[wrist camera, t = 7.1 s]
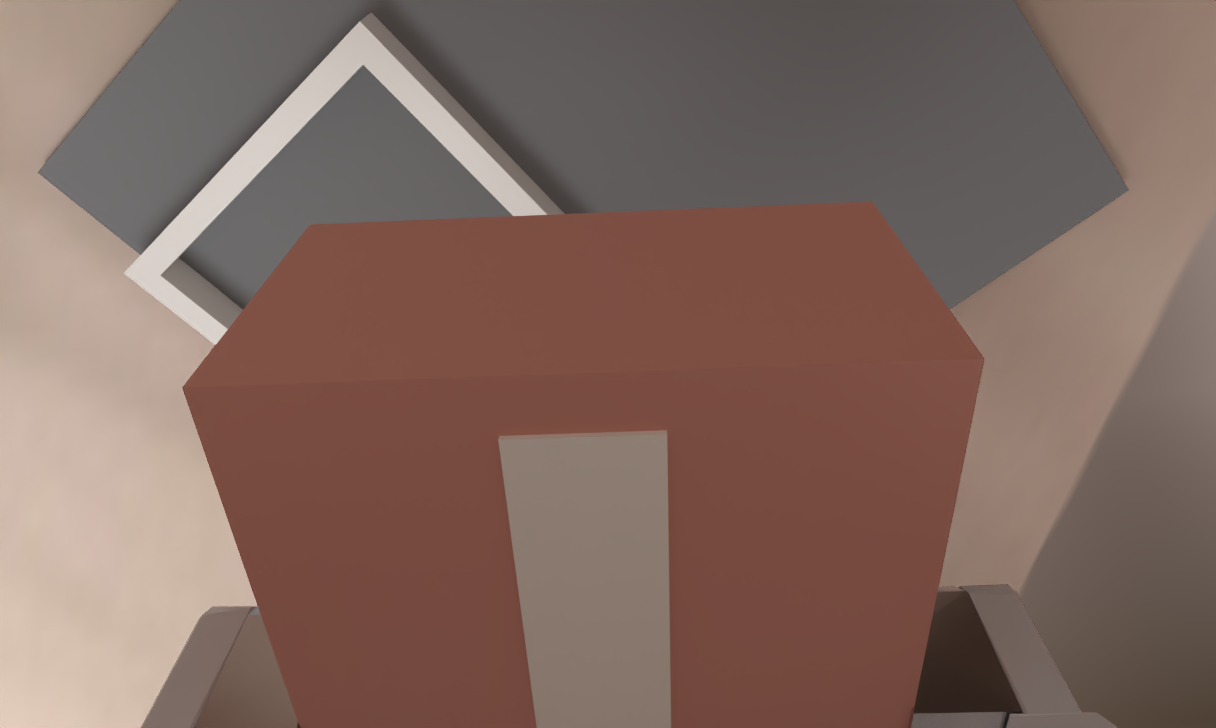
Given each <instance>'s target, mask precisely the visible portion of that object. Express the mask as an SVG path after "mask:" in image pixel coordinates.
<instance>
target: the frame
mask: <svg viewBox="0 0 1216 728" xmlns="http://www.w3.org/2000/svg"><path fill="white" fill-rule="evenodd" d="M363 65H364V66H365V67H366V68H367V69H368V70H369V71H370V72H371V73H372V74H373V75H374V76H375V77H376V78H377V79H378V80H379V81H380V82H381V83H382V84H383V85H384V86H385V87H386V88H387V89H388V90H389V91H390V92H391V93H392V94H393V95H394V96H395V97H396V98H397V99H398V100H399V101H400V102H401V103H402V104H403V105H404V106H405V107H406V108H407V109H408V110H409V111H410V112H411V113H412V114H413V115H414V116H415V117H416V118H417V119H418V120H419V121H420V122H421V123H422V124H423V125H424V126H425V127H426V128H427V129H428V130H429V131H430V132H431V133H432V135H433V136H434V137H435V138H436V139H437V140H438V141H439V142H440V143H441V144H442V145H443V146H444V147H445V148H446V149H447V150H448V151H449V152H450V153H451V154H452V155H453V156H454V157H455V158H456V159H457V160H458V161H459V162H460V163H461V164H462V165H463V166H464V167H465V168H466V169H467V170H468V171H469V172H470V173H471V174H472V175H473V176H474V177H475V178H476V179H477V180H478V181H479V182H480V183H481V184H482V185H483V186H484V187H485V188H486V189H487V190H488V191H489V192H490V193H491V194H492V195H493V196H494V197H495V198H496V199H497V200H498V201H499V202H500V203H501V204H502V205H503V206H504V207H505V208H506V209H507V210H508V211H509V212H510V213H511V214H512V215H513V216H530V215H555V214H564V213H563V212H562V210H561V209H560V208H559V207H558V206H557V205H556V204H555V203H554V202H553V201H552V200H551V199H550V198H549V197H548V196H547V195H546V194H545V193H544V192H543V191H542V190H541V189H540V188H539V186H538V185H537V184H536V183H535V182H534V181H533V180H532V179H531V178H530V177H529V176H528V175H527V174H526V173H525V172H524V171H523V170H522V169H521V168H520V167H519V166H518V165H517V164H516V162H515V161H514V160H513V159H512V158H511V157H510V156H509V155H508V154H507V153H506V152H505V151H504V150H503V149H502V148H501V147H500V146H499V145H498V144H497V143H496V142H495V141H494V140H493V138H492V137H491V136H490V135H489V134H488V133H487V132H486V131H485V130H484V129H483V128H482V127H481V126H480V125H479V124H478V123H477V122H476V121H475V120H474V119H473V118H472V117H471V116H470V114H469V113H468V112H467V111H466V110H465V109H464V108H463V107H462V106H461V105H460V104H459V103H458V102H457V101H456V100H455V99H454V98H453V97H452V96H451V95H450V94H449V93H448V92H447V90H446V89H445V88H444V87H443V86H442V85H441V84H440V83H439V82H438V81H437V80H436V79H435V78H434V77H433V76H432V75H431V74H430V73H429V72H428V71H427V70H426V69H425V68H424V66H423V65H422V64H421V63H420V62H419V61H418V60H417V59H416V58H415V57H414V56H413V55H412V54H411V53H410V52H409V51H408V50H407V49H406V48H405V47H404V46H403V45H402V44H401V42H400V41H399V40H398V39H397V38H396V37H395V36H394V35H393V34H392V33H391V32H390V31H389V30H388V29H387V28H386V27H385V26H384V25H383V24H382V23H381V22H380V21H379V20H378V18H377V17H376V16H375V15H374V14H373V13H372V12H371V13H370V14H369V15H367V16H366V17H365V18H363V19H362V20H361V21H359V22H358V24H357V25H356V26H355V27H354V28H353V29H352V30H351V31H350V32H349V33H348V34H347V35H346V36H345V37H344V39H343V40H342V41H341V42H340V43H339V44H338V45H337V46H336V47H335V48H334V49H333V50H332V51H331V52H330V53H329V55H328V56H327V57H326V58H325V59H324V60H323V61H322V62H321V63H320V64H319V65H318V66H317V67H316V68H315V69H314V71H313V72H312V73H311V74H310V75H309V76H308V77H307V78H306V79H305V80H304V81H303V82H302V83H301V84H300V86H299V87H298V88H297V89H296V90H295V91H294V92H293V93H292V94H291V95H290V96H289V97H288V98H287V99H286V100H285V102H284V103H283V104H282V105H281V106H280V107H279V108H278V109H277V110H276V111H275V112H274V113H273V114H272V115H271V117H270V118H269V119H268V120H267V121H266V122H265V123H264V124H263V125H262V126H261V127H260V128H259V129H258V130H257V131H256V133H255V134H254V135H253V136H252V137H251V138H250V139H249V140H248V141H247V142H246V143H245V144H244V145H243V146H242V147H241V149H240V150H239V151H238V152H237V153H236V154H235V155H234V156H233V157H232V158H231V159H230V160H229V161H228V162H227V164H226V165H225V166H224V167H223V168H222V169H221V170H220V171H219V172H218V173H217V174H216V175H215V176H214V177H213V178H212V180H211V181H210V182H209V183H208V184H207V185H206V186H205V187H204V188H203V189H202V190H201V191H200V192H199V193H198V194H197V196H196V197H195V198H194V199H193V200H192V201H191V202H190V203H189V204H188V205H187V206H186V207H185V208H184V209H183V211H182V212H181V213H180V214H179V215H178V216H177V217H176V218H175V219H174V220H173V221H172V222H171V223H170V224H169V225H168V227H167V228H166V229H165V230H164V231H163V232H162V233H161V234H160V235H159V236H158V237H157V238H156V239H155V240H154V242H153V243H152V244H151V245H150V246H149V247H148V248H147V249H146V250H145V251H144V252H143V253H142V254H141V255H140V256H139V258H138V259H137V260H136V261H135V262H134V263H133V264H132V265H131V266H130V267H129V268H128V269H127V270H126V271H125V272H124V274H125V275H127V276H128V277H129V278H130V279H132V280H133V281H134V282H135V283H137V284H138V285H139V286H141V287H142V288H143V289H144V290H146V291H147V292H148V293H149V294H151V295H152V296H153V297H155V298H156V299H157V300H158V301H160V302H161V303H162V304H164V305H165V306H166V307H167V308H169V309H170V310H171V311H172V312H174V313H175V314H176V315H178V316H179V317H180V318H181V319H183V320H184V321H185V322H187V323H188V324H189V325H190V326H192V327H193V328H194V329H195V330H197V331H198V332H199V333H201V334H202V335H203V336H204V337H206V338H207V339H208V340H209V341H211V342H212V343H213V344H215V345H216V344H217V343H218V341H219V340H220V339H221V338H222V336H223V335H224V334H225V332H226V331H227V330H228V329H229V327H230V326H231V325H232V323H233V322H234V321H235V320H236V318H237V317H238V316H239V315H240V313H241V312H242V311H243V309H241V308H240V307H239V306H238V305H237V304H235V303H234V302H233V301H232V300H230V299H229V298H228V297H227V296H225V295H224V294H223V293H222V292H221V291H219V290H218V289H217V288H216V287H214V286H213V285H212V284H211V283H210V282H208V281H207V280H206V279H205V278H203V277H202V276H201V275H200V274H198V273H197V272H196V271H195V270H194V269H192V268H191V267H190V266H189V265H187V264H186V263H185V262H184V261H182V260H181V259H180V258H179V257H180V256H181V254H182V253H183V252H184V251H185V250H186V249H187V248H188V247H189V246H190V245H191V244H192V243H193V242H194V241H195V240H196V239H197V238H198V237H199V236H200V235H201V234H202V233H203V232H204V231H205V230H206V228H207V227H208V226H209V225H210V224H211V223H212V222H213V221H214V220H215V219H216V218H217V217H218V216H219V215H220V214H221V213H222V212H223V211H224V210H225V209H226V208H227V207H228V206H229V205H230V204H231V202H232V201H233V200H234V199H235V198H236V197H237V196H238V195H239V194H240V193H241V192H242V191H243V190H244V189H245V188H246V187H247V186H248V185H249V184H250V183H251V182H252V181H253V180H254V179H255V178H256V176H257V175H258V174H259V173H260V172H261V171H262V170H263V169H264V168H265V167H266V166H267V165H268V164H269V163H270V162H271V161H272V160H273V159H274V158H275V157H276V156H277V155H278V154H279V153H280V152H281V150H282V149H283V148H284V147H285V146H286V145H287V144H288V143H289V142H290V141H291V140H292V139H293V138H294V137H295V136H296V135H297V134H298V133H299V132H300V131H301V130H302V129H303V128H304V127H305V126H306V124H307V123H308V122H309V121H310V120H311V119H312V118H313V117H314V116H315V115H316V114H317V113H318V112H319V111H320V110H321V109H322V108H323V107H324V106H325V105H326V104H327V103H328V102H329V101H330V100H331V98H332V97H333V96H334V95H335V94H336V93H337V92H338V91H339V90H340V89H341V88H342V87H343V86H344V85H345V84H346V83H347V82H348V81H349V80H350V79H351V78H352V77H353V76H354V75H355V74H356V73H357V71H358V70H359V69H360V68H361V67H362V66H363Z"/></svg>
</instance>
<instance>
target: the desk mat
mask: <svg viewBox="0 0 1216 728" xmlns="http://www.w3.org/2000/svg"><path fill="white" fill-rule="evenodd" d="M371 12H372V13H373V14H374V15H375V16H376V17H377V18H378V20H379V21H380V22H381V23H382V24H383V25H384V26H385V27H386V28H387V29H388V30H389V31H390V32H391V33H392V34H393V35H394V36H395V37H396V38H397V39H398V40H399V41H400V42H401V44H402V45H403V46H404V47H405V48H406V49H407V50H408V51H409V52H410V53H411V54H412V55H413V56H414V57H415V58H416V59H417V60H418V61H419V62H420V63H421V64H422V65H423V66H424V68H425V69H426V70H427V71H428V72H429V73H430V74H431V75H432V76H433V77H434V78H435V79H436V80H437V81H438V82H439V83H440V84H441V85H442V86H443V87H444V88H445V89H446V90H447V92H448V93H449V94H450V95H451V96H452V97H453V98H454V99H455V100H456V101H457V102H458V103H459V104H460V105H461V106H462V107H463V108H464V109H465V110H466V111H467V112H468V113H469V114H470V116H471V117H472V118H473V119H474V120H475V121H476V122H477V123H478V124H479V125H480V126H481V127H482V128H483V129H484V130H485V131H486V132H487V133H488V134H489V135H490V136H491V137H492V138H493V140H494V141H495V142H496V143H497V144H498V145H499V146H500V147H501V148H502V149H503V150H504V151H505V152H506V153H507V154H508V155H509V156H510V157H511V158H512V159H513V160H514V161H515V162H516V164H517V165H518V166H519V167H520V168H521V169H522V170H523V171H524V172H525V173H526V174H527V175H528V176H529V177H530V178H531V179H532V180H533V181H534V182H535V183H536V184H537V185H538V186H539V188H540V189H541V190H542V191H543V192H544V193H545V194H546V195H547V196H548V197H549V198H550V199H551V200H552V201H553V202H554V203H555V204H556V205H557V206H558V207H559V208H560V209H561V210H562V212H563V213H564V214H579V213H603V212H628V211H652V210H676V209H701V208H725V207H750V206H774V205H798V204H823V203H847V202H873V203H874V205H875V206H876V207H877V209H878V210H879V212H880V213H881V214H882V216H883V217H884V219H885V220H886V221H887V223H888V224H889V226H890V227H891V228H892V230H893V231H894V233H895V234H896V235H897V237H898V238H899V240H900V241H901V242H902V244H903V245H904V247H905V248H906V249H907V251H908V252H909V254H910V255H911V256H912V258H913V259H914V261H915V262H916V263H917V265H918V266H919V268H920V269H921V270H922V272H923V273H924V275H925V276H926V277H927V279H928V280H929V282H930V283H931V285H932V286H933V287H934V289H935V290H936V292H937V293H938V294H939V296H940V297H941V299H942V300H943V301H944V303H945V304H946V306H947V307H948V308H949V309H951V308H952V307H954V306H955V305H957V304H958V303H960V302H961V301H963V300H964V299H966V298H967V297H969V296H970V295H972V294H973V293H975V292H976V291H978V290H979V289H981V288H982V287H984V286H985V285H987V284H988V283H990V282H991V281H993V280H994V279H996V278H997V277H999V276H1000V275H1002V274H1003V273H1005V272H1006V271H1008V270H1009V269H1011V268H1012V267H1014V266H1015V265H1017V264H1018V263H1020V262H1021V261H1023V260H1024V259H1026V258H1027V257H1029V256H1030V255H1032V254H1033V253H1035V252H1036V251H1038V250H1039V249H1041V248H1042V247H1044V246H1045V245H1047V244H1048V243H1050V242H1051V241H1053V240H1054V239H1056V238H1057V237H1059V236H1061V235H1062V234H1064V233H1065V232H1067V231H1068V230H1070V229H1071V228H1073V227H1074V226H1076V225H1077V224H1079V223H1080V222H1082V221H1083V220H1085V219H1086V218H1088V217H1089V216H1091V215H1092V214H1094V213H1095V212H1097V211H1098V210H1100V209H1101V208H1103V207H1104V206H1106V205H1107V204H1109V203H1110V202H1112V201H1113V200H1115V199H1116V198H1118V197H1119V196H1121V195H1122V194H1124V193H1125V192H1127V191H1128V188H1127V186H1126V185H1125V183H1124V181H1123V180H1122V178H1121V176H1120V175H1119V173H1118V171H1117V170H1116V168H1115V166H1114V165H1113V163H1112V161H1111V160H1110V158H1109V156H1108V155H1107V153H1106V151H1105V150H1104V148H1103V147H1102V145H1101V143H1100V142H1099V140H1098V138H1097V137H1096V135H1095V133H1094V132H1093V130H1092V128H1091V127H1090V125H1089V123H1088V122H1087V120H1086V118H1085V117H1084V115H1083V113H1082V112H1081V110H1080V108H1079V107H1078V105H1077V103H1076V102H1075V100H1074V98H1073V97H1072V95H1071V93H1070V92H1069V90H1068V88H1067V87H1066V85H1065V83H1064V82H1063V80H1062V78H1061V77H1060V75H1059V73H1058V72H1057V70H1056V69H1055V67H1054V65H1053V64H1052V62H1051V60H1050V59H1049V57H1048V55H1047V54H1046V52H1045V50H1044V49H1043V47H1042V45H1041V44H1040V42H1039V40H1038V39H1037V37H1036V35H1035V34H1034V32H1033V30H1032V29H1031V27H1030V25H1029V24H1028V22H1027V20H1026V19H1025V17H1024V15H1023V14H1022V12H1021V10H1020V9H1019V7H1018V5H1017V4H1016V2H1015V0H180V1H179V2H178V3H177V4H176V6H175V7H174V8H173V9H172V10H171V12H170V13H169V14H168V15H167V16H166V18H165V19H164V20H163V21H162V23H161V24H160V25H159V26H158V27H157V29H156V30H155V31H154V32H153V33H152V35H151V36H150V37H149V38H148V39H147V41H146V42H145V43H144V44H143V46H142V47H141V48H140V49H139V50H138V52H137V53H136V54H135V55H134V56H133V58H132V59H131V60H130V61H129V62H128V64H127V65H126V66H125V67H124V69H123V70H122V71H121V72H120V73H119V75H118V76H117V77H116V78H115V79H114V81H113V82H112V83H111V84H110V85H109V87H108V88H107V89H106V90H105V92H104V93H103V94H102V95H101V96H100V98H99V99H98V100H97V101H96V102H95V104H94V105H93V106H92V107H91V108H90V110H89V111H88V112H87V113H86V115H85V116H84V117H83V118H82V119H81V121H80V122H79V123H78V124H77V125H76V127H75V128H74V129H73V130H72V131H71V133H70V134H69V135H68V136H67V138H66V139H65V140H64V141H63V142H62V144H61V145H60V146H59V147H58V148H57V150H56V151H55V152H54V153H53V154H52V156H51V157H50V158H49V159H48V161H47V162H46V163H45V164H44V165H43V167H42V168H41V169H40V170H39V171H38V173H39V174H40V175H41V176H43V177H44V178H45V179H46V180H48V181H49V182H50V183H51V184H53V185H54V186H55V187H56V188H58V189H59V190H60V191H61V192H63V193H64V194H65V195H66V196H68V197H69V198H70V199H71V200H73V201H74V202H75V203H76V204H78V205H79V206H80V207H81V208H83V209H84V210H85V211H86V212H88V213H89V214H90V215H91V216H93V217H94V218H95V219H96V220H98V221H99V222H100V223H101V224H103V225H104V226H105V227H106V228H108V229H109V230H110V231H111V232H113V233H114V234H115V235H116V236H118V237H119V238H120V239H121V240H123V241H124V242H125V243H126V244H128V245H129V246H130V247H131V248H133V249H134V250H135V251H136V252H138V253H139V254H140V255H141V254H142V253H143V252H144V251H145V250H146V249H147V248H148V247H149V246H150V245H151V244H152V243H153V242H154V240H155V239H156V238H157V237H158V236H159V235H160V234H161V233H162V232H163V231H164V230H165V229H166V228H167V227H168V225H169V224H170V223H171V222H172V221H173V220H174V219H175V218H176V217H177V216H178V215H179V214H180V213H181V212H182V211H183V209H184V208H185V207H186V206H187V205H188V204H189V203H190V202H191V201H192V200H193V199H194V198H195V197H196V196H197V194H198V193H199V192H200V191H201V190H202V189H203V188H204V187H205V186H206V185H207V184H208V183H209V182H210V181H211V180H212V178H213V177H214V176H215V175H216V174H217V173H218V172H219V171H220V170H221V169H222V168H223V167H224V166H225V165H226V164H227V162H228V161H229V160H230V159H231V158H232V157H233V156H234V155H235V154H236V153H237V152H238V151H239V150H240V149H241V147H242V146H243V145H244V144H245V143H246V142H247V141H248V140H249V139H250V138H251V137H252V136H253V135H254V134H255V133H256V131H257V130H258V129H259V128H260V127H261V126H262V125H263V124H264V123H265V122H266V121H267V120H268V119H269V118H270V117H271V115H272V114H273V113H274V112H275V111H276V110H277V109H278V108H279V107H280V106H281V105H282V104H283V103H284V102H285V100H286V99H287V98H288V97H289V96H290V95H291V94H292V93H293V92H294V91H295V90H296V89H297V88H298V87H299V86H300V84H301V83H302V82H303V81H304V80H305V79H306V78H307V77H308V76H309V75H310V74H311V73H312V72H313V71H314V69H315V68H316V67H317V66H318V65H319V64H320V63H321V62H322V61H323V60H324V59H325V58H326V57H327V56H328V55H329V53H330V52H331V51H332V50H333V49H334V48H335V47H336V46H337V45H338V44H339V43H340V42H341V41H342V40H343V39H344V37H345V36H346V35H347V34H348V33H349V32H350V31H351V30H352V29H353V28H354V27H355V26H356V25H357V24H358V22H359V21H361V20H362V19H363V18H365V17H366V16H367V15H369V14H370V13H371ZM506 216H513V215H512V214H511V213H510V212H509V211H508V210H507V209H506V208H505V207H504V206H503V205H502V204H501V203H500V202H499V201H498V200H497V199H496V198H495V197H494V196H493V195H492V194H491V193H490V192H489V191H488V190H487V189H486V188H485V187H484V186H483V185H482V184H481V183H480V182H479V181H478V180H477V179H476V178H475V177H474V176H473V175H472V174H471V173H470V172H469V171H468V170H467V169H466V168H465V167H464V166H463V165H462V164H461V163H460V162H459V161H458V160H457V159H456V158H455V157H454V156H453V155H452V154H451V153H450V152H449V151H448V150H447V149H446V148H445V147H444V146H443V145H442V144H441V143H440V142H439V141H438V140H437V139H436V138H435V137H434V136H433V135H432V133H431V132H430V131H429V130H428V129H427V128H426V127H425V126H424V125H423V124H422V123H421V122H420V121H419V120H418V119H417V118H416V117H415V116H414V115H413V114H412V113H411V112H410V111H409V110H408V109H407V108H406V107H405V106H404V105H403V104H402V103H401V102H400V101H399V100H398V99H397V98H396V97H395V96H394V95H393V94H392V93H391V92H390V91H389V90H388V89H387V88H386V87H385V86H384V85H383V84H382V83H381V82H380V81H379V80H378V79H377V78H376V77H375V76H374V75H373V74H372V73H371V72H370V71H369V70H368V69H367V68H366V67H365V66H364V65H363V66H362V67H361V68H360V69H359V70H358V71H357V73H356V74H355V75H354V76H353V77H352V78H351V79H350V80H349V81H348V82H347V83H346V84H345V85H344V86H343V87H342V88H341V89H340V90H339V91H338V92H337V93H336V94H335V95H334V96H333V97H332V98H331V100H330V101H329V102H328V103H327V104H326V105H325V106H324V107H323V108H322V109H321V110H320V111H319V112H318V113H317V114H316V115H315V116H314V117H313V118H312V119H311V120H310V121H309V122H308V123H307V124H306V126H305V127H304V128H303V129H302V130H301V131H300V132H299V133H298V134H297V135H296V136H295V137H294V138H293V139H292V140H291V141H290V142H289V143H288V144H287V145H286V146H285V147H284V148H283V149H282V150H281V152H280V153H279V154H278V155H277V156H276V157H275V158H274V159H273V160H272V161H271V162H270V163H269V164H268V165H267V166H266V167H265V168H264V169H263V170H262V171H261V172H260V173H259V174H258V175H257V176H256V178H255V179H254V180H253V181H252V182H251V183H250V184H249V185H248V186H247V187H246V188H245V189H244V190H243V191H242V192H241V193H240V194H239V195H238V196H237V197H236V198H235V199H234V200H233V201H232V202H231V204H230V205H229V206H228V207H227V208H226V209H225V210H224V211H223V212H222V213H221V214H220V215H219V216H218V217H217V218H216V219H215V220H214V221H213V222H212V223H211V224H210V225H209V226H208V227H207V228H206V230H205V231H204V232H203V233H202V234H201V235H200V236H199V237H198V238H197V239H196V240H195V241H194V242H193V243H192V244H191V245H190V246H189V247H188V248H187V249H186V250H185V251H184V252H183V253H182V254H181V256H180V257H179V258H180V259H181V260H182V261H184V262H185V263H186V264H187V265H189V266H190V267H191V268H192V269H194V270H195V271H196V272H197V273H198V274H200V275H201V276H202V277H203V278H205V279H206V280H207V281H208V282H210V283H211V284H212V285H213V286H214V287H216V288H217V289H218V290H219V291H221V292H222V293H223V294H224V295H225V296H227V297H228V298H229V299H230V300H232V301H233V302H234V303H235V304H237V305H238V306H239V307H240V308H241V309H244V308H245V307H246V306H247V304H248V303H249V302H250V300H251V299H252V298H253V297H254V295H255V294H256V293H257V292H258V290H259V289H260V288H261V286H262V285H263V284H264V283H265V281H266V280H267V279H268V277H269V276H270V275H271V274H272V272H273V271H274V270H275V269H276V267H277V266H278V265H279V263H280V262H281V261H282V260H283V258H284V257H285V256H286V254H287V253H288V252H289V251H290V249H291V248H292V247H293V246H294V244H295V243H296V242H297V240H298V239H299V238H300V237H301V235H302V234H303V233H304V231H305V230H306V229H307V228H308V226H309V225H311V224H335V223H359V222H384V221H408V220H433V219H457V218H481V217H506Z"/></svg>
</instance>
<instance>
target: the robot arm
mask: <svg viewBox="0 0 1216 728" xmlns="http://www.w3.org/2000/svg"><path fill="white" fill-rule="evenodd" d="M141 728H300V726H299V724H298V721H297V718H296V715H295V712H294V709H293V706H292V703H291V700H290V698H289V695H288V692H287V689H286V686H285V683H284V680H283V677H282V674H281V672H280V669H279V666H278V663H277V660H276V657H275V654H274V651H273V648H272V646H271V643H270V640H269V637H268V634H267V631H266V628H265V625H264V622H263V619H262V617H261V614H260V611H259V608H258V606H223V607H211V608H210V609H209V610H208V611H207V612H206V613H204V614H203V615H202V616H201V617H200V618H199V620H198V622H197V624H196V626H195V628H194V629H193V631H192V633H191V635H190V637H189V639H188V641H187V642H186V644H185V646H184V648H183V650H182V652H181V654H180V655H179V657H178V659H177V661H176V663H175V665H174V667H173V668H172V670H171V672H170V674H169V676H168V678H167V680H166V682H165V683H164V685H163V687H162V689H161V691H160V693H159V695H158V696H157V698H156V700H155V702H154V704H153V706H152V708H151V709H150V711H149V713H148V715H147V717H146V719H145V721H144V722H143V724H142V726H141ZM908 728H1118V727H1116V726H1115V725H1114V724H1112V723H1111V722H1110V721H1108V720H1107V719H1105V718H1104V717H1103V716H1101V715H1100V714H1098V713H1096V712H1081V710H1080V708H1079V706H1078V704H1077V702H1076V701H1075V699H1074V697H1073V695H1072V693H1071V692H1070V690H1069V688H1068V686H1067V684H1066V682H1065V681H1064V679H1063V677H1062V675H1061V673H1060V671H1059V669H1058V667H1057V666H1056V664H1055V662H1054V660H1053V658H1052V656H1051V655H1050V653H1049V651H1048V649H1047V647H1046V645H1045V644H1044V642H1043V640H1042V638H1041V636H1040V634H1039V633H1038V631H1037V629H1036V627H1035V625H1034V623H1033V621H1032V620H1031V618H1030V616H1029V614H1028V612H1027V610H1026V609H1025V607H1024V605H1023V603H1022V601H1021V599H1020V597H1019V596H1018V594H1017V592H1016V591H1015V590H1014V589H1013V588H1011V587H1010V586H1009V585H1008V584H1006V585H979V586H960V587H955V586H950V587H938V592H937V597H936V602H935V607H934V612H933V617H932V621H931V626H930V631H929V636H928V641H927V646H926V651H925V656H924V661H923V666H922V671H921V676H920V681H919V686H918V691H917V696H916V701H915V706H914V707H912V709H911V714H910V719H909V724H908Z"/></svg>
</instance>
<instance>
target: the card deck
mask: <svg viewBox="0 0 1216 728" xmlns="http://www.w3.org/2000/svg"><path fill="white" fill-rule="evenodd" d="M983 363H984V357H983V356H982V355H981V353H980V352H979V350H978V349H977V348H976V346H975V345H974V343H973V342H972V341H971V339H970V338H969V336H968V335H967V334H966V332H965V331H964V329H963V328H962V327H961V325H960V324H959V322H958V321H957V320H956V318H955V317H954V315H953V314H952V313H951V311H950V310H949V308H948V307H947V306H946V304H945V303H944V301H943V300H942V299H941V297H940V296H939V294H938V293H937V292H936V290H935V289H934V287H933V286H932V285H931V283H930V282H929V280H928V279H927V277H926V276H925V275H924V273H923V272H922V270H921V269H920V268H919V266H918V265H917V263H916V262H915V261H914V259H913V258H912V256H911V255H910V254H909V252H908V251H907V249H906V248H905V247H904V245H903V244H902V242H901V241H900V240H899V238H898V237H897V235H896V234H895V233H894V231H893V230H892V228H891V227H890V226H889V224H888V223H887V221H886V220H885V219H884V217H883V216H882V214H881V213H880V212H879V210H878V209H877V207H876V206H875V205H874V203H873V202H847V203H823V204H798V205H774V206H750V207H725V208H701V209H676V210H652V211H628V212H603V213H579V214H555V215H530V216H506V217H481V218H457V219H433V220H408V221H384V222H359V223H335V224H311V225H309V226H308V228H307V229H306V230H305V231H304V233H303V234H302V235H301V237H300V238H299V239H298V240H297V242H296V243H295V244H294V246H293V247H292V248H291V249H290V251H289V252H288V253H287V254H286V256H285V257H284V258H283V260H282V261H281V262H280V263H279V265H278V266H277V267H276V269H275V270H274V271H273V272H272V274H271V275H270V276H269V277H268V279H267V280H266V281H265V283H264V284H263V285H262V286H261V288H260V289H259V290H258V292H257V293H256V294H255V295H254V297H253V298H252V299H251V300H250V302H249V303H248V304H247V306H246V307H245V308H244V309H243V311H242V312H241V313H240V315H239V316H238V317H237V318H236V320H235V321H234V322H233V323H232V325H231V326H230V327H229V329H228V330H227V331H226V332H225V334H224V335H223V336H222V338H221V339H220V340H219V341H218V343H217V344H216V345H215V346H214V348H213V349H212V350H211V352H210V353H209V354H208V355H207V357H206V358H205V359H204V361H203V362H202V363H201V364H200V366H199V367H198V368H197V369H196V371H195V372H194V373H193V375H192V376H191V377H190V378H189V380H188V381H187V382H186V384H185V385H184V386H183V387H182V388H183V391H184V394H185V397H186V400H187V403H188V406H189V408H190V411H191V414H192V417H193V420H194V423H195V426H196V429H197V432H198V434H199V437H200V440H201V443H202V446H203V449H204V452H205V455H206V458H207V461H208V463H209V466H210V469H211V472H212V475H213V478H214V481H215V484H216V487H217V489H218V492H219V495H220V498H221V501H222V504H223V507H224V510H225V513H226V515H227V518H228V521H229V524H230V527H231V530H232V533H233V536H234V539H235V541H236V544H237V547H238V550H239V553H240V556H241V559H242V562H243V565H244V567H245V570H246V573H247V576H248V579H249V582H250V585H251V588H252V591H253V593H254V596H255V599H256V602H257V605H258V608H259V611H260V614H261V617H262V619H263V622H264V625H265V628H266V631H267V634H268V637H269V640H270V643H271V646H272V648H273V651H274V654H275V657H276V660H277V663H278V666H279V669H280V672H281V674H282V677H283V680H284V683H285V686H286V689H287V692H288V695H289V698H290V700H291V703H292V706H293V709H294V712H295V715H296V718H297V721H298V724H299V726H300V728H908V724H909V719H910V714H911V709H912V707H914V706H915V701H916V696H917V691H918V686H919V681H920V676H921V671H922V666H923V661H924V656H925V651H926V646H927V641H928V636H929V631H930V626H931V621H932V617H933V612H934V607H935V602H936V597H937V592H938V587H939V582H940V577H941V572H942V567H943V562H944V557H945V552H946V547H947V542H948V537H949V532H950V527H951V522H952V517H953V512H954V507H955V502H956V497H957V492H958V487H959V482H960V477H961V472H962V467H963V463H964V458H965V453H966V448H967V443H968V438H969V433H970V428H971V423H972V418H973V413H974V408H975V403H976V398H977V393H978V388H979V383H980V378H981V373H982V368H983Z"/></svg>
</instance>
